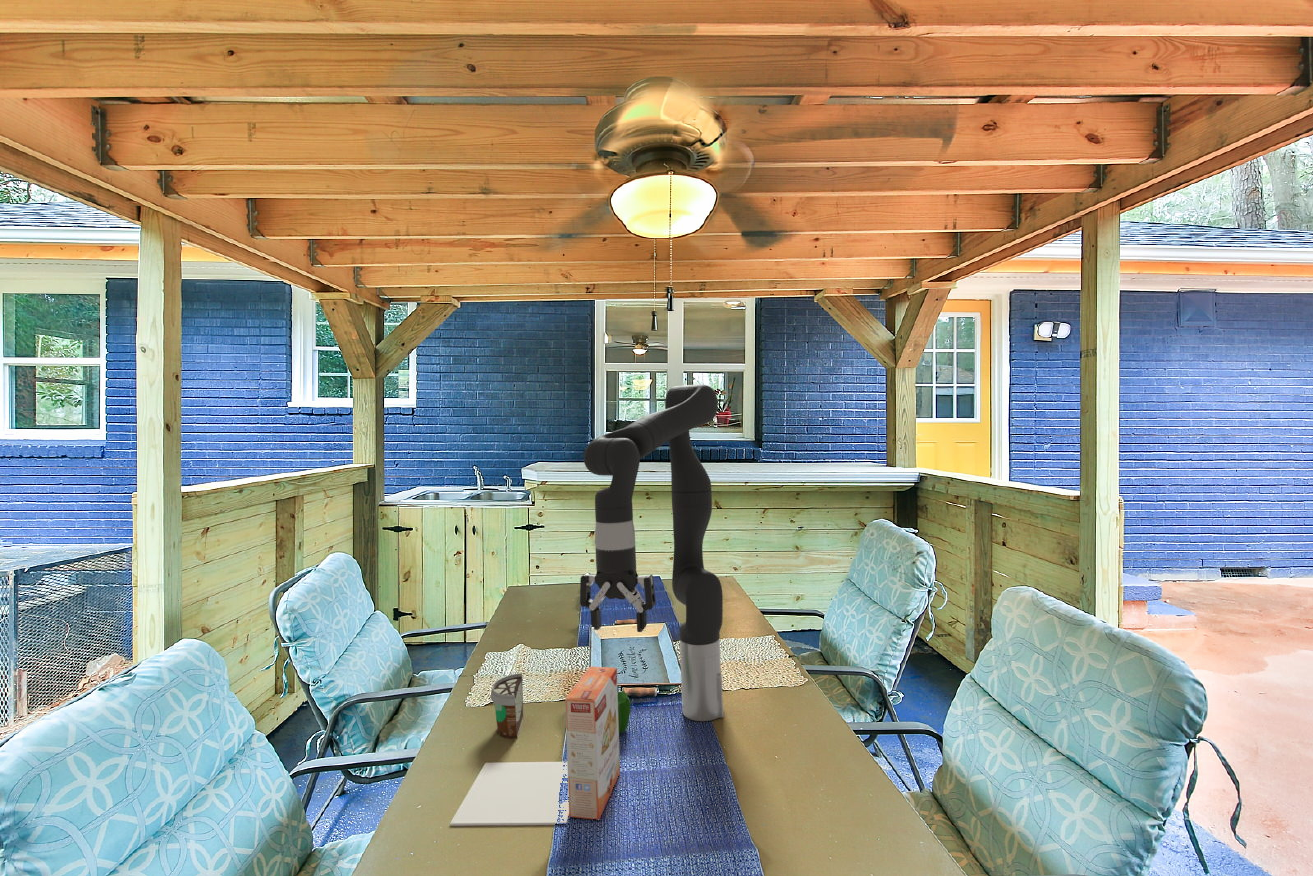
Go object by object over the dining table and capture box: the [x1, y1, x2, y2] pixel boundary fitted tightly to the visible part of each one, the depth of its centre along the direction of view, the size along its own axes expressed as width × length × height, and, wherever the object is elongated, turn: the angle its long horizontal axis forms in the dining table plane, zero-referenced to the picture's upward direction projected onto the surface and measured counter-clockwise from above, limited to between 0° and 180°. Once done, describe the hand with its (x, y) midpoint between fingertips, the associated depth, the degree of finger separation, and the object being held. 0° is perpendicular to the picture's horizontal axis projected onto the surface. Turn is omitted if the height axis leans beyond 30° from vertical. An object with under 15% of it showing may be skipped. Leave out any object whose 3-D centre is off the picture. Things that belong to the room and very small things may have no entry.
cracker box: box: [564, 666, 621, 821], centre depth 108 cm, size 14×6×21 cm, turn 168°
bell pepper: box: [618, 690, 632, 734], centre depth 130 cm, size 8×8×10 cm
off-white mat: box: [449, 761, 569, 827], centre depth 110 cm, size 20×18×1 cm
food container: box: [490, 672, 524, 740], centre depth 133 cm, size 12×6×10 cm, turn 5°
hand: (618, 629), depth 112 cm, fingers open, 8 cm apart
